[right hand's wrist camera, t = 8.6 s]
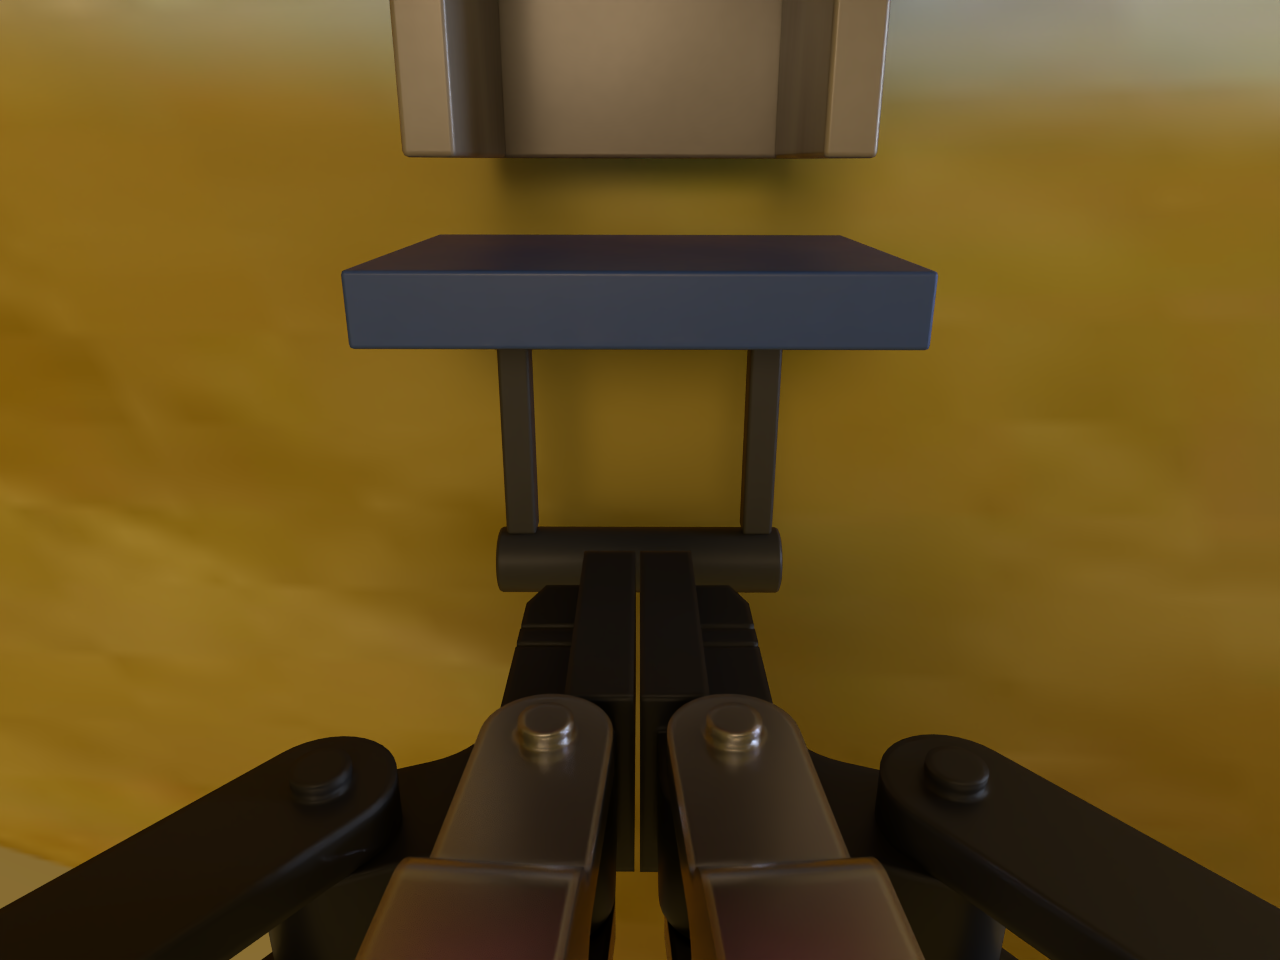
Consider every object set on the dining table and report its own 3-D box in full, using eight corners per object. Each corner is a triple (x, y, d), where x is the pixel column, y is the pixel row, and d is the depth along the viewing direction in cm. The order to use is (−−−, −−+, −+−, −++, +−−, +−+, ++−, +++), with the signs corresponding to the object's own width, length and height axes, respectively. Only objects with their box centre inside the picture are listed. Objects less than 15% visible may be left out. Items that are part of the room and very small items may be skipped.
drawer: (819, 525, 22) (892, 673, 15) (459, 524, 22) (385, 672, 15) (905, -549, 15) (1097, -1066, 9) (378, -549, 15) (185, -1068, 9)
